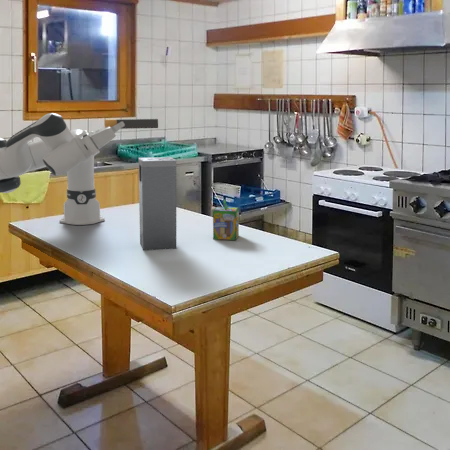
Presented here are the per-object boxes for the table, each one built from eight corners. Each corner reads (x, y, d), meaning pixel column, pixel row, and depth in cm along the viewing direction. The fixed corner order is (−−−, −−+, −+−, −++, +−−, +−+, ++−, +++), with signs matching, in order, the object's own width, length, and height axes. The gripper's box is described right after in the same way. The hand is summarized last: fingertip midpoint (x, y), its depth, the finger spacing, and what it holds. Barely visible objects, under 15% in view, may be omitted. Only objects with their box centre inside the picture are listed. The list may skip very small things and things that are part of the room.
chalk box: (235, 241, 223) (236, 203, 220) (212, 239, 224) (212, 201, 221) (239, 235, 232) (240, 198, 228) (216, 234, 233) (217, 197, 230)
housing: (140, 243, 217) (138, 157, 210) (171, 241, 220) (171, 157, 213) (143, 250, 207) (141, 161, 200) (176, 248, 210) (176, 160, 203)
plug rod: (104, 128, 200) (104, 119, 199) (157, 127, 204) (156, 118, 203) (105, 128, 197) (104, 119, 196) (158, 128, 201) (157, 119, 201)
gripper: (93, 148, 209) (126, 128, 210) (94, 154, 190) (130, 132, 191) (83, 133, 207) (116, 113, 208) (83, 138, 188) (120, 115, 189)
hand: (123, 122), depth 200 cm, fingers closed on plug rod, 3 cm apart
